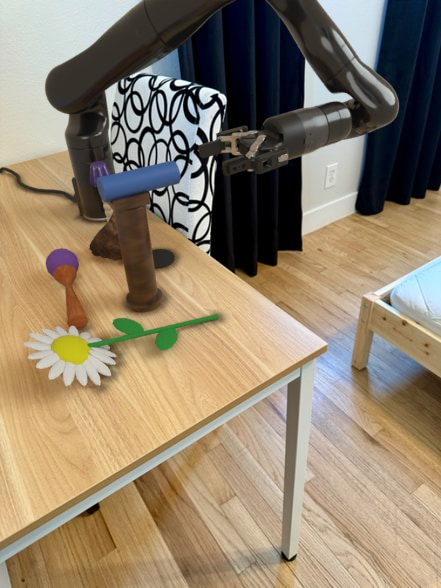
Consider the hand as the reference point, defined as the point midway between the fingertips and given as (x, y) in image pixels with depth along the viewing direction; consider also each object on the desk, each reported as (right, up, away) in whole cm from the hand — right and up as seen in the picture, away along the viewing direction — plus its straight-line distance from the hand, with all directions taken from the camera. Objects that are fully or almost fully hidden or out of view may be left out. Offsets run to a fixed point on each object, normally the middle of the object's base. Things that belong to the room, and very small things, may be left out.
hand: (211, 160), depth 69 cm
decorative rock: (-19, -14, +21) cm, 31 cm away
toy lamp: (-23, -8, +28) cm, 37 cm away
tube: (-11, -4, -4) cm, 12 cm away
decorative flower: (-12, -30, -1) cm, 32 cm away
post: (-12, -23, +8) cm, 27 cm away
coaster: (-11, -14, +19) cm, 27 cm away
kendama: (-26, -22, +10) cm, 35 cm away
